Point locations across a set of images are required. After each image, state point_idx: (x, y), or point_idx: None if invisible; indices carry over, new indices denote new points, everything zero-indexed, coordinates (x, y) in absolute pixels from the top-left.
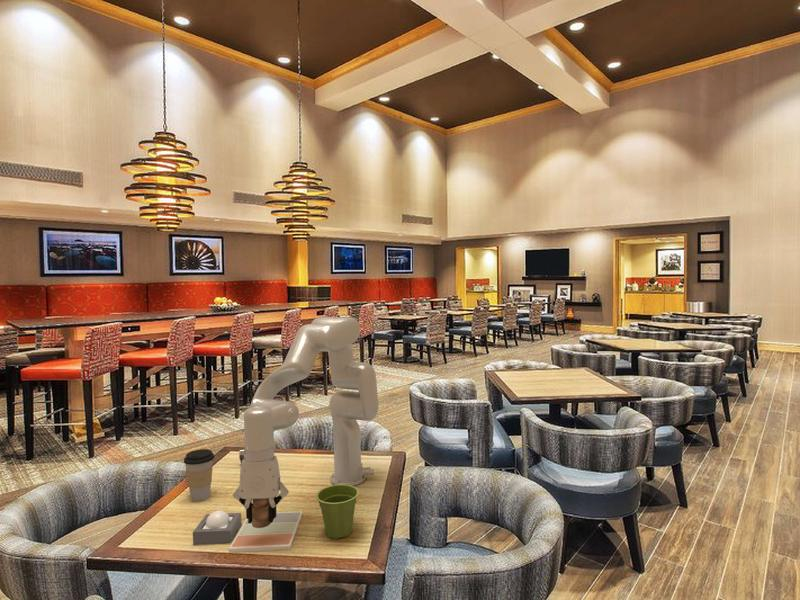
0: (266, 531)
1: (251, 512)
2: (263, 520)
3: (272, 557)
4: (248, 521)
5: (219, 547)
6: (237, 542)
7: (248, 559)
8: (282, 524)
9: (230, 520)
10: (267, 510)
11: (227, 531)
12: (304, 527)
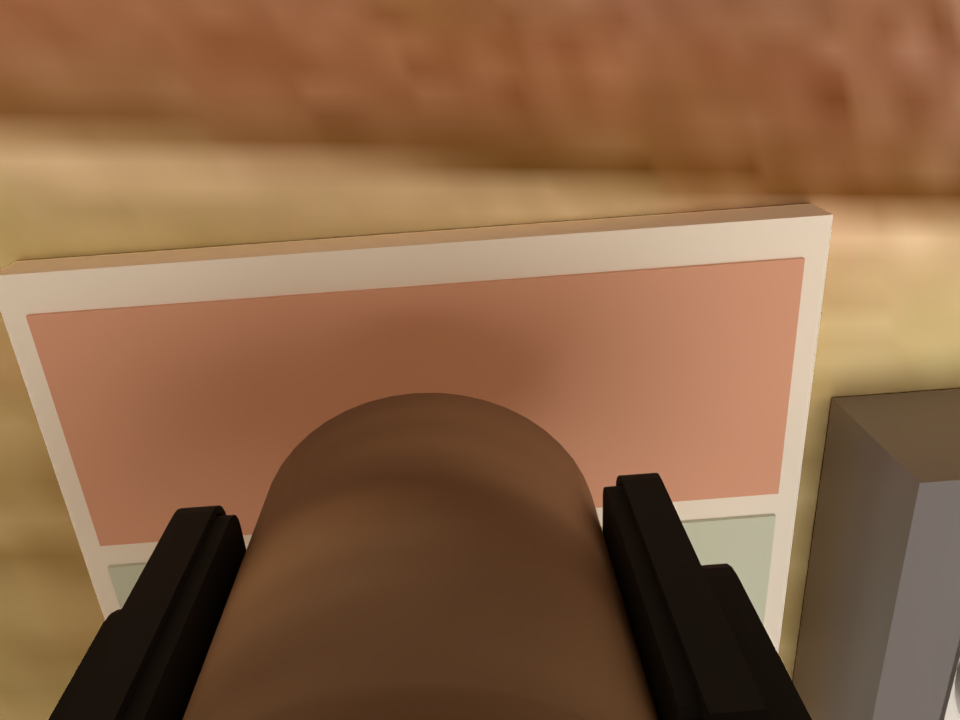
0: None
1: (646, 667)
2: (316, 490)
3: (179, 78)
4: (659, 489)
5: (948, 315)
6: (748, 352)
7: (501, 32)
8: None
9: (949, 704)
10: (188, 705)
11: (950, 473)
12: None
